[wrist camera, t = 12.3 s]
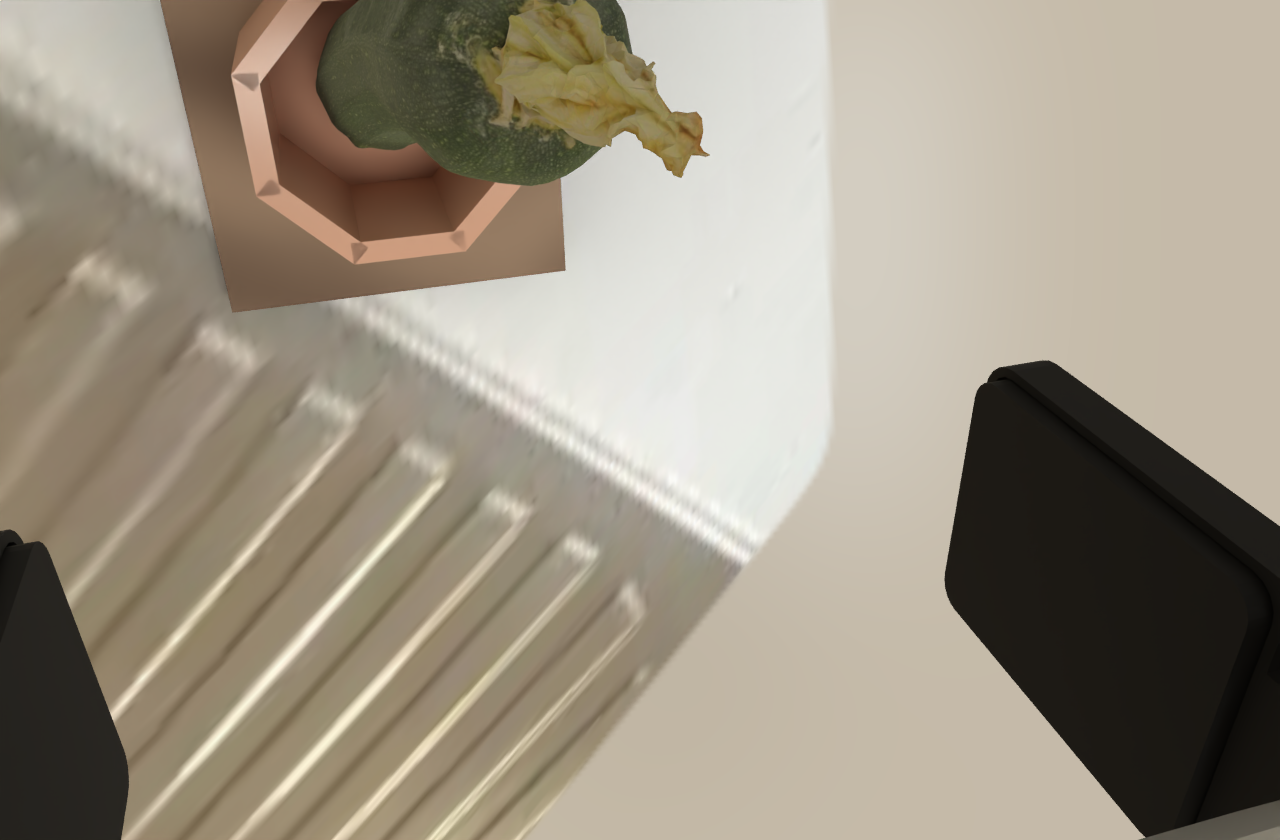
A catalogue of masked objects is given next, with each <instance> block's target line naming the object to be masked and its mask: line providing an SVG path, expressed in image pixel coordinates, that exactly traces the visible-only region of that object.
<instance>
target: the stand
mask: <svg viewBox="0 0 1280 840" xmlns="http://www.w3.org/2000/svg"><path fill="white" fill-rule="evenodd" d="M262 1H263V0H160V2H161V6H162V10H163V15H164V19H165V23H166V28H167V32H168V36H169V41H170V45H171V49H172V54H173V58H174V62H175V66H176V71H177V75H178V79H179V84H180V88H181V92H182V97H183V101H184V105H185V110H186V114H187V118H188V122H189V127H190V131H191V135H192V140H193V144H194V148H195V153H196V157H197V161H198V166H199V170H200V174H201V179H202V183H203V187H204V191H205V196H206V200H207V204H208V209H209V213H210V217H211V222H212V226H213V230H214V235H215V239H216V243H217V247H218V252H219V256H220V260H221V265H222V269H223V273H224V278H225V282H226V286H227V291H228V295H229V299H230V303H231V308H232V312H241V311H249V310H257V309H265V308H273V307H280V306H288V305H296V304H304V303H312V302H320V301H328V300H336V299H344V298H352V297H360V296H368V295H375V294H383V293H391V292H399V291H407V290H415V289H423V288H431V287H439V286H447V285H455V284H462V283H470V282H478V281H486V280H494V279H502V278H510V277H518V276H526V275H534V274H542V273H549V272H557V271H565V270H566V269H565V252H564V234H563V216H562V198H561V180H560V178H559V179H556V180H554V181H552V182H549V183H546V184H540V185H535V186H523V185H521V186H520V188H519V189H518V190H517V191H516V192H515V194H514V195H513V196H512V197H511V198H510V200H509V201H508V202H507V203H506V204H505V205H504V207H503V208H502V209H501V210H500V211H499V213H498V214H497V215H496V216H495V217H494V218H493V220H492V221H491V222H490V223H489V224H488V226H487V227H486V228H485V229H484V230H483V232H482V233H481V234H480V235H479V236H478V237H477V239H476V240H475V241H474V242H473V243H472V245H471V246H470V247H469V248H468V249H467V250H466V252H456V253H448V254H439V255H431V256H423V257H414V258H406V259H398V260H389V261H381V262H372V263H364V264H356V265H354V264H353V263H351V262H350V261H349V260H347V259H346V258H344V257H343V256H341V255H340V254H339V253H337V252H336V251H334V250H333V249H331V248H330V247H328V246H327V245H326V244H324V243H323V242H321V241H320V240H318V239H317V238H315V237H314V236H313V235H311V234H310V233H308V232H307V231H305V230H304V229H302V228H301V227H300V226H298V225H297V224H295V223H294V222H292V221H291V220H289V219H288V218H287V217H285V216H284V215H282V214H281V213H279V212H278V211H277V210H275V209H274V208H272V207H271V206H269V205H268V204H266V203H265V202H264V201H262V200H261V199H259V198H258V197H256V193H255V188H254V183H253V178H252V174H251V169H250V164H249V159H248V154H247V149H246V145H245V140H244V135H243V130H242V125H241V120H240V116H239V111H238V106H237V101H236V96H235V91H234V87H233V82H232V77H231V72H232V67H233V62H234V56H235V51H236V46H237V41H238V36H239V31H240V30H241V29H242V28H243V26H244V25H245V24H246V22H247V21H248V20H249V18H250V17H251V16H252V14H253V13H254V12H255V10H256V9H257V8H258V6H259V5H260V4H261V2H262Z"/></svg>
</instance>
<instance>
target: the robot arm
mask: <svg viewBox="0 0 1280 840" xmlns="http://www.w3.org/2000/svg"><path fill="white" fill-rule="evenodd" d="M945 589H946V592H947V596H948V598H949V601H950V603H951V605H952V606H953V608H954V609H955V610H956V611H957V613H958V614H959V615H960V616H961V618H962V619H963V620H964V621H965V622H966V624H967V625H968V626H969V627H970V629H971V630H972V631H973V632H974V633H975V634H976V636H977V637H978V638H979V639H980V640H981V642H982V643H983V644H984V645H985V646H986V648H987V649H988V650H989V651H990V653H991V654H992V655H993V656H994V657H995V658H996V660H997V661H998V662H999V663H1000V665H1001V666H1002V667H1003V668H1004V669H1005V671H1006V672H1007V673H1008V674H1009V675H1010V676H1011V678H1012V679H1013V680H1014V681H1015V682H1016V684H1017V685H1018V686H1019V687H1020V689H1021V690H1022V691H1023V692H1024V693H1025V695H1026V696H1027V697H1028V698H1029V699H1030V701H1031V702H1033V704H1034V705H1035V706H1036V708H1037V709H1038V710H1039V711H1040V713H1041V714H1042V715H1043V716H1044V717H1045V718H1046V720H1047V721H1048V722H1049V723H1050V724H1051V726H1052V727H1053V728H1054V729H1055V731H1056V732H1057V733H1058V734H1059V735H1060V737H1061V738H1062V739H1063V740H1064V741H1065V743H1066V744H1067V745H1068V746H1069V747H1070V749H1071V750H1072V751H1073V752H1074V753H1075V755H1076V756H1077V757H1078V758H1079V759H1080V761H1081V762H1082V763H1083V764H1084V765H1085V767H1086V768H1087V769H1088V770H1089V771H1090V773H1091V774H1092V775H1093V776H1094V777H1095V779H1096V780H1097V781H1098V782H1099V783H1100V785H1101V786H1102V787H1103V788H1104V789H1105V791H1106V792H1107V793H1108V794H1109V795H1110V796H1111V798H1112V799H1113V800H1114V801H1115V803H1116V804H1117V805H1118V806H1119V807H1120V809H1121V810H1122V811H1123V812H1124V813H1125V815H1126V816H1127V817H1128V818H1129V819H1130V821H1131V822H1132V823H1133V824H1134V825H1135V827H1136V828H1137V829H1138V830H1139V831H1140V832H1141V833H1142V834H1143V835H1144V836H1145V837H1146V838H1143V839H1140V840H1280V526H1278V525H1277V524H1276V523H1274V522H1273V521H1272V520H1270V519H1269V518H1268V517H1266V516H1265V515H1263V514H1262V513H1261V512H1259V511H1258V510H1257V509H1255V508H1254V507H1252V506H1251V505H1250V504H1248V503H1247V502H1245V501H1244V500H1243V499H1241V498H1240V497H1239V496H1237V495H1236V494H1235V493H1233V492H1232V491H1230V490H1229V489H1227V488H1226V487H1225V486H1223V485H1222V484H1221V483H1219V482H1218V481H1217V480H1215V479H1214V478H1213V477H1211V476H1210V475H1208V474H1207V473H1205V472H1204V471H1203V470H1201V469H1200V468H1199V467H1197V466H1196V465H1194V464H1193V463H1192V462H1190V461H1189V460H1188V459H1186V458H1185V457H1184V456H1182V455H1181V454H1179V453H1178V452H1177V451H1175V450H1174V449H1173V448H1171V447H1170V446H1168V445H1167V444H1166V443H1164V442H1163V441H1162V440H1160V439H1159V438H1157V437H1156V436H1155V435H1153V434H1152V433H1151V432H1149V431H1148V430H1146V429H1145V428H1144V427H1142V426H1141V425H1139V424H1138V423H1136V422H1135V421H1134V420H1133V419H1131V418H1130V417H1128V416H1127V415H1126V414H1124V413H1123V412H1122V411H1120V410H1119V409H1117V408H1116V407H1115V406H1113V405H1112V404H1111V403H1109V402H1108V401H1106V400H1105V399H1104V398H1102V397H1101V396H1100V395H1098V394H1097V393H1095V392H1094V391H1093V390H1091V389H1090V388H1088V387H1087V386H1086V385H1084V384H1083V383H1082V382H1080V381H1079V380H1077V379H1076V378H1075V377H1073V376H1072V375H1071V374H1069V373H1068V372H1066V371H1065V370H1064V369H1062V368H1061V367H1060V366H1058V365H1057V364H1055V363H1053V362H1051V361H1036V362H1030V363H1024V364H1018V365H1012V366H1006V367H1000V368H998V369H996V370H995V371H993V372H992V374H991V375H990V377H989V378H988V381H987V383H984V384H983V385H981V386H980V387H979V389H978V390H977V393H976V396H975V401H974V407H973V413H972V418H971V424H970V430H969V436H968V442H967V448H966V453H965V459H964V465H963V472H962V478H961V483H960V489H959V495H958V501H957V507H956V513H955V518H954V525H953V530H952V535H951V541H950V547H949V553H948V559H947V565H946V571H945ZM128 788H129V775H128V765H127V760H126V755H125V752H124V749H123V746H122V744H121V741H120V738H119V736H118V733H117V730H116V728H115V725H114V723H113V720H112V717H111V715H110V712H109V709H108V707H107V704H106V701H105V699H104V696H103V694H102V691H101V688H100V686H99V683H98V680H97V678H96V675H95V673H94V670H93V667H92V665H91V662H90V659H89V657H88V654H87V651H86V649H85V646H84V644H83V641H82V638H81V636H80V633H79V630H78V628H77V625H76V623H75V620H74V617H73V615H72V612H71V609H70V607H69V604H68V601H67V599H66V596H65V594H64V591H63V588H62V586H61V583H60V580H59V578H58V575H57V573H56V570H55V567H54V565H53V562H52V559H51V557H50V554H49V552H48V550H47V548H46V547H45V546H44V544H43V543H41V542H39V541H37V542H31V543H25V544H24V543H23V541H22V539H21V538H20V537H19V535H18V534H17V533H16V532H15V531H12V530H4V531H0V840H121V836H122V829H123V823H124V816H125V810H126V804H127V797H128Z"/></svg>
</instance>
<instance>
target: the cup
mask: <svg viewBox="0 0 1280 840" xmlns="http://www.w3.org/2000/svg"><path fill="white" fill-rule="evenodd" d="M358 1H359V0H263V1H262V2H261V4H260V5H259V6H258V8H257V9H256V10H255V12H254V13H253V14H252V16H251V17H250V18H249V20H248V21H247V22H246V24H245V25H244V26H243V28H242V29H241V30H240V31H239V36H238V41H237V46H236V51H235V56H234V62H233V67H232V72H231V77H232V82H233V87H234V91H235V96H236V101H237V106H238V111H239V116H240V120H241V125H242V130H243V135H244V140H245V145H246V149H247V154H248V159H249V164H250V169H251V174H252V178H253V183H254V188H255V193H256V197H258V198H259V199H261V200H262V201H264V202H265V203H266V204H268V205H269V206H271V207H272V208H274V209H275V210H277V211H278V212H279V213H281V214H282V215H284V216H285V217H287V218H288V219H289V220H291V221H292V222H294V223H295V224H297V225H298V226H300V227H301V228H302V229H304V230H305V231H307V232H308V233H310V234H311V235H313V236H314V237H315V238H317V239H318V240H320V241H321V242H323V243H324V244H326V245H327V246H328V247H330V248H331V249H333V250H334V251H336V252H337V253H339V254H340V255H341V256H343V257H344V258H346V259H347V260H349V261H350V262H351V263H353V264H354V265H356V264H364V263H372V262H381V261H389V260H398V259H406V258H414V257H423V256H431V255H439V254H448V253H456V252H466V250H467V249H468V248H469V247H470V246H471V245H472V243H473V242H474V241H475V240H476V239H477V237H478V236H479V235H480V234H481V233H482V232H483V230H484V229H485V228H486V227H487V226H488V224H489V223H490V222H491V221H492V220H493V218H494V217H495V216H496V215H497V214H498V213H499V211H500V210H501V209H502V208H503V207H504V205H505V204H506V203H507V202H508V201H509V200H510V198H511V197H512V196H513V195H514V194H515V192H516V191H517V190H518V189H519V188H520V186H521V185H513V184H503V183H496V182H491V181H486V180H480V179H474V178H469V177H465V176H462V175H459V174H456V173H452V172H450V171H448V170H446V169H445V168H443V167H442V166H440V165H439V164H438V163H437V162H436V161H434V160H433V159H432V158H431V157H430V156H429V155H428V154H427V153H426V152H425V151H424V149H423V148H422V147H421V146H420V145H419V144H418V143H414V144H411V145H408V146H407V147H405V148H403V149H400V150H383V149H376V148H357V147H355V146H354V144H352V142H351V141H350V140H349V138H348V137H347V136H345V135H344V134H343V133H341V132H340V131H339V130H338V129H337V128H336V127H335V126H334V125H333V124H332V122H331V120H330V118H329V116H328V114H327V112H326V110H325V108H324V106H323V104H322V102H321V100H320V98H319V96H318V94H317V92H316V78H317V69H318V65H319V61H320V57H321V54H322V51H323V48H324V45H325V42H326V39H327V36H328V33H329V32H330V30H331V28H332V26H333V25H334V23H335V22H336V20H337V19H338V18H339V17H340V15H342V14H343V13H344V12H346V11H347V10H348V9H349V8H351V7H352V6H353V5H354V4H355V3H356V2H358Z"/></svg>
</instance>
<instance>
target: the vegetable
mask: <svg viewBox="0 0 1280 840" xmlns="http://www.w3.org/2000/svg"><path fill="white" fill-rule="evenodd" d="M654 64H655V63H654V62H652V63H651V64H650V65H648V66H646V64H645V61H644V60H643V59H641V58H639V57H637V56H634V55H632V50H631V45H630V39H629V34H628V29H627V24H626V19H625V15H624V13H623V11H622V9H621V7H620V6H619V4H618V3H617V1H616V0H359V1H358V2H356V3H355V4H354V5H353V6H352V7H351V8H349V9H348V10H347V11H346V12H344V13H343V14H342V15H340V17H339V18H338V19H337V20H336V22H335V23H334V25H333V26H332V28H331V30H330V32H329V33H328V36H327V39H326V42H325V45H324V48H323V51H322V54H321V57H320V61H319V65H318V69H317V78H316V92H317V94H318V96H319V98H320V100H321V102H322V104H323V106H324V108H325V110H326V112H327V114H328V116H329V118H330V120H331V122H332V124H333V125H334V126H335V127H336V128H337V129H338V130H339V131H340V132H341V133H343V134H344V135H345V136H347V137H348V138H349V140H350V141H351V142H352V144H354V146H355V147H357V148H376V149H383V150H400V149H403V148H405V147H407V146H408V145H411V144H414V143H418V144H419V145H420V146H421V147H422V148H423V149H424V151H425V152H426V153H427V154H428V155H429V156H430V157H431V158H432V159H433V160H434V161H436V162H437V163H438V164H439V165H440V166H442V167H443V168H445V169H446V170H448V171H450V172H452V173H456V174H459V175H462V176H465V177H469V178H474V179H480V180H486V181H491V182H496V183H503V184H513V185H523V186H535V185H540V184H546V183H549V182H552V181H554V180H556V179H559V178H561V177H563V176H566V175H568V174H569V173H571V172H572V171H574V170H575V169H577V168H578V167H580V166H581V165H583V164H584V163H585V162H586V161H587V160H588V159H590V158H591V157H592V156H593V155H594V154H595V153H596V152H598V151H599V150H600V149H601V148H602V147H605V146H606V145H608V146H610V147H611V142H612V138H614V137H615V136H617V135H618V134H620V133H622V132H623V131H627V132H630V133H633V134H636V136H637V138H638V140H640V141H641V142H642V145H643V148H645V149H648V150H650V151H652V152H653V153H655V154H656V155H657V156H659V157H660V158H662V160H663V162H664V164H665V167H666V169H667V170H668V171H672V173H673V175H675V176H677V177H680V178H681V177H682V176H683V171H684V169H685V167H686V165H687V163H688V161H689V159H690V156H691V155H700V156H705V157H706V156H709V154H707V153H706V152H704V151H703V150H702V148H701V146H700V143H701V139H702V134H703V125H702V118H701V117H700V116H699V114H698V113H697V112H692V113H683V112H673V113H671V111H670V110H669V109H668V107H667V106H666V104H665V103H664V101H663V100H662V98H661V97H660V95H659V94H658V92H657V88H656V75H655V74H654V73H653V71H652V70H651V69H652V68H653V66H654Z"/></svg>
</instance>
